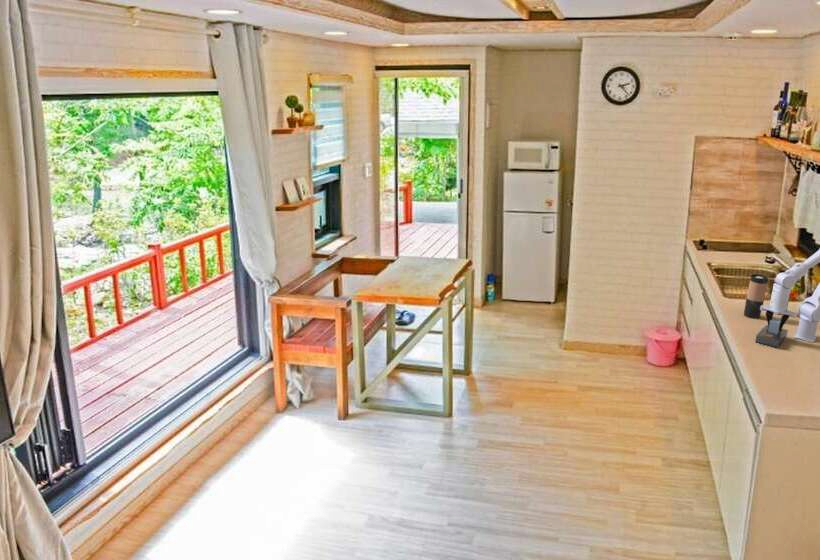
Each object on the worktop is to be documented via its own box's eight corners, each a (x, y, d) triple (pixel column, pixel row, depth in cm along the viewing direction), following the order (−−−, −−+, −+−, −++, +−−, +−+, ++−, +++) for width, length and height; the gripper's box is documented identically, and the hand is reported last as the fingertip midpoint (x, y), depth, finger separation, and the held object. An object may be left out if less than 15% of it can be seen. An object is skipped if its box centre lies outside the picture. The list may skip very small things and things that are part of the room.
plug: (770, 329, 326) (773, 317, 325) (780, 332, 324) (782, 319, 322) (767, 333, 322) (770, 320, 320) (777, 335, 319) (779, 322, 318)
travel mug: (763, 317, 351) (771, 277, 345) (754, 319, 347) (762, 279, 341) (748, 312, 357) (756, 273, 351) (739, 314, 353) (747, 275, 347)
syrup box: (777, 314, 356) (783, 286, 352) (767, 310, 362) (773, 282, 357) (786, 314, 358) (792, 285, 354) (776, 310, 363) (782, 282, 359)
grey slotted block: (764, 332, 331) (766, 323, 330) (786, 337, 326) (788, 328, 324) (755, 342, 317) (756, 333, 316) (777, 348, 312) (779, 339, 311)
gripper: (760, 298, 320) (754, 327, 324) (797, 306, 311) (790, 335, 315) (764, 294, 325) (758, 323, 329) (800, 302, 317) (793, 331, 321)
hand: (774, 329), depth 322 cm, fingers closed on plug, 4 cm apart
